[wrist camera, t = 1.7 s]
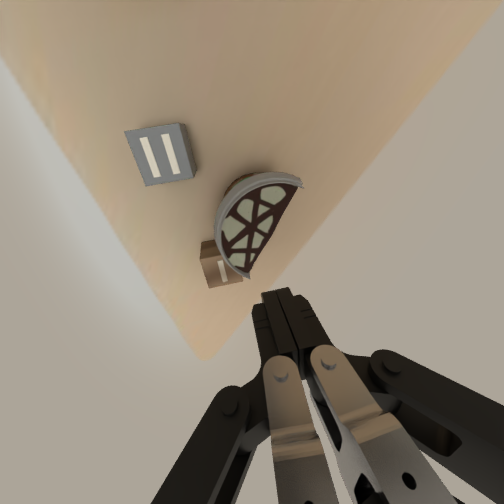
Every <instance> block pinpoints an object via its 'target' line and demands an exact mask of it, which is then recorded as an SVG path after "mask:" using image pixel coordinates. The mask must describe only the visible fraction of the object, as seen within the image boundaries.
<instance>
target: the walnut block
mask: <svg viewBox="0 0 504 504" xmlns="http://www.w3.org/2000/svg"><path fill="white" fill-rule="evenodd" d="M200 262H201V265H202V268H203V271H204V274H205V277H206V280H207V284H208V287H209V288H213V287H218V286H223V285H228V284H232V283H237V282H242V281H243V277H242V275H240V274H238V273H237V272H236V271H234V270H233V269H232V268H231V267H230V266H229V265H228V264H227V263H226V262H225V260H224V259H223V257H222V255H221V253H220V251H219V249H218V247H217V244H216V242H215V240H211V241H205V242H202V243H201V253H200Z"/></svg>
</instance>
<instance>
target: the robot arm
mask: <svg viewBox="0 0 504 504" xmlns="http://www.w3.org/2000/svg"><path fill="white" fill-rule="evenodd" d="M261 297H262V303H260V304H255V305H254V306H253V309H252V318H253V323H254V328H255V333H256V338H257V343H258V348H259V352H260V357H261V368H260V371H259V372H258V374H257V375H256V377H255V378H254V379H253V380H251V381H250V382H248V383H247V384H245V385H244V386H243V387H238V386H227V387H225V388H223V389H221V390H220V391H219V392H218V393H217V394H216V396H215V397H214V399H213V401H212V402H211V404H210V406H209V407H208V409H207V411H206V413H205V414H204V416H203V417H202V419H201V421H200V422H199V424H198V426H197V427H196V429H195V431H194V432H193V434H192V436H191V437H190V439H189V441H188V442H187V444H186V446H185V448H184V449H183V451H182V452H181V454H180V456H179V457H178V459H177V461H176V462H175V464H174V466H173V468H172V469H171V471H170V472H169V474H168V476H167V477H166V479H165V481H164V483H163V484H162V486H161V488H160V489H159V491H158V493H157V494H156V496H155V498H154V499H153V501H152V503H151V504H235V502H236V500H237V497H238V495H239V492H240V489H241V487H242V484H243V482H244V479H245V476H246V474H247V471H248V469H249V466H250V464H251V461H252V458H253V456H254V453H255V451H256V448H257V446H258V445H259V444H260V443H261V442H263V441H264V440H265V439H266V438H268V437H269V436H270V435H271V445H272V455H273V463H274V471H275V479H276V486H277V494H278V502H279V504H339V502H338V498H337V495H336V491H335V488H334V484H333V481H332V478H331V474H330V471H329V467H328V464H327V460H326V457H325V453H324V450H323V447H322V444H321V441H320V438H319V436H318V434H317V433H316V430H315V428H314V424H313V421H312V417H311V414H310V410H309V406H308V403H307V399H306V396H305V392H304V388H303V385H302V381H301V380H305V379H306V380H307V383H308V385H309V388H310V397H311V400H312V402H313V405H314V407H315V409H316V411H317V414H318V416H319V418H320V421H321V423H322V425H323V427H324V430H325V432H326V434H327V436H328V439H329V441H330V443H331V445H332V448H333V450H334V453H335V456H336V459H337V464H338V467H339V470H340V473H341V476H342V478H343V481H344V483H345V486H346V488H347V490H348V493H349V495H350V497H351V500H352V502H353V504H465V503H463V502H462V501H460V500H459V499H457V498H456V497H454V496H452V495H451V494H450V492H449V491H448V489H447V488H446V487H445V485H444V484H443V482H442V481H441V479H440V478H439V477H438V475H437V474H436V472H435V471H434V470H433V468H432V467H431V466H430V464H429V463H428V461H427V460H426V458H425V457H424V456H423V454H422V453H421V451H422V452H424V453H425V454H427V455H428V456H429V457H431V458H432V459H434V460H435V461H437V462H438V463H439V464H441V465H442V466H444V467H445V468H447V469H448V470H449V471H451V472H452V473H454V474H455V475H457V476H458V477H459V478H461V479H462V480H464V481H465V482H467V483H468V484H469V485H471V486H472V487H474V488H475V489H477V490H478V491H479V492H481V493H482V494H484V495H485V496H486V497H488V498H489V499H491V500H492V501H493V502H495V503H496V504H504V406H503V405H501V404H499V403H497V402H495V401H493V400H491V399H489V398H487V397H485V396H483V395H481V394H479V393H477V392H475V391H473V390H471V389H469V388H467V387H465V386H463V385H460V384H459V383H456V382H454V381H452V380H450V379H448V378H446V377H444V376H442V375H440V374H438V373H436V372H434V371H432V370H430V369H428V368H426V367H424V366H422V365H420V364H418V363H416V362H414V361H412V360H410V359H408V358H406V357H404V356H402V355H400V354H398V353H396V352H393V351H390V350H383V349H382V350H377V351H375V352H374V353H373V354H372V355H371V357H366V356H354V355H349V354H346V353H343V352H341V351H340V350H339V349H337V348H336V347H335V346H334V345H333V344H332V342H331V341H330V339H329V337H328V336H327V334H326V332H325V330H324V329H323V327H322V325H321V323H320V321H319V320H318V318H317V317H316V314H315V313H314V311H313V310H312V307H311V305H310V303H309V302H308V300H306V299H305V298H304V297H303V296H302V295H296V296H293V295H292V293H291V291H290V289H289V287H286V288H281V289H277V290H275V291H274V290H273V291H268V292H263V293H261ZM420 450H421V451H420Z"/></svg>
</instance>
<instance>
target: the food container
mask: <svg viewBox="0 0 504 504" xmlns="http://www.w3.org/2000/svg"><path fill="white" fill-rule="evenodd" d="M302 184H303V183H302V181H301V180H300V178H298V177H296V176H294V175H291V174H287V173H283V172H266V173H261V174H260V173H252V174H248V175H243V176H241V177H240V178H238V179H237V180H235V181H234V182H233V183H232V184H231V185H230V186H229V187H228V189H227V191H226V192H225V195H224V198H223V200H222V202H221V204H220V206H219V208H218V210H217V213H216V216H215V221H214V237H215V242H216V244H217V247H218V249H219V251H220V253H221V255H222V257H223V259H224V260H225V262H226V263H227V264H228V265H229V266H230V267H231V268H232V269H233V270H234V271H236V272H237V273H238V274H240V275H242V276H243V277H246V278H248V279H250V274H249V272H250V270H251V269H252V266H253V264H254V262H255V261H256V259H257V257H258V256H259V254H260V252H261V251H262V249H263V248H264V246H265V245H266V243H267V242H268V240H269V239H270V237H271V236H272V234H273V232H274V230H275V228H276V226H277V224H278V222H279V220H280V218H281V216H282V214H283V213H284V211H285V209H286V207H287V206H288V204H289V202H290V200H291V199H292V197H293V195H294V194H295V192H296V190H297V188H298V187H301V188H304V187H303V186H302Z"/></svg>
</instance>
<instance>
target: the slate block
mask: <svg viewBox="0 0 504 504" xmlns="http://www.w3.org/2000/svg"><path fill="white" fill-rule="evenodd" d="M124 133H125V135H126V138H127V140H128V143H129V145H130V148H131V150H132V153H133V155H134V158H135V160H136V163H137V165H138V168H139V170H140V173H141V175H142V178H143V180H144V183H145V185H146V186H150V185H156V184H162V183H167V182H173V181H179V180H185V179H190V178H194V176H195V173H196V171H197V170H196V166H195V162H194V158H193V155H192V151H191V147H190V143H189V139H188V135H187V132H186V128H185V124H180V123H175V124H169V125H163V126H156V127H150V128H143V129H137V130H130V131H124Z"/></svg>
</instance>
